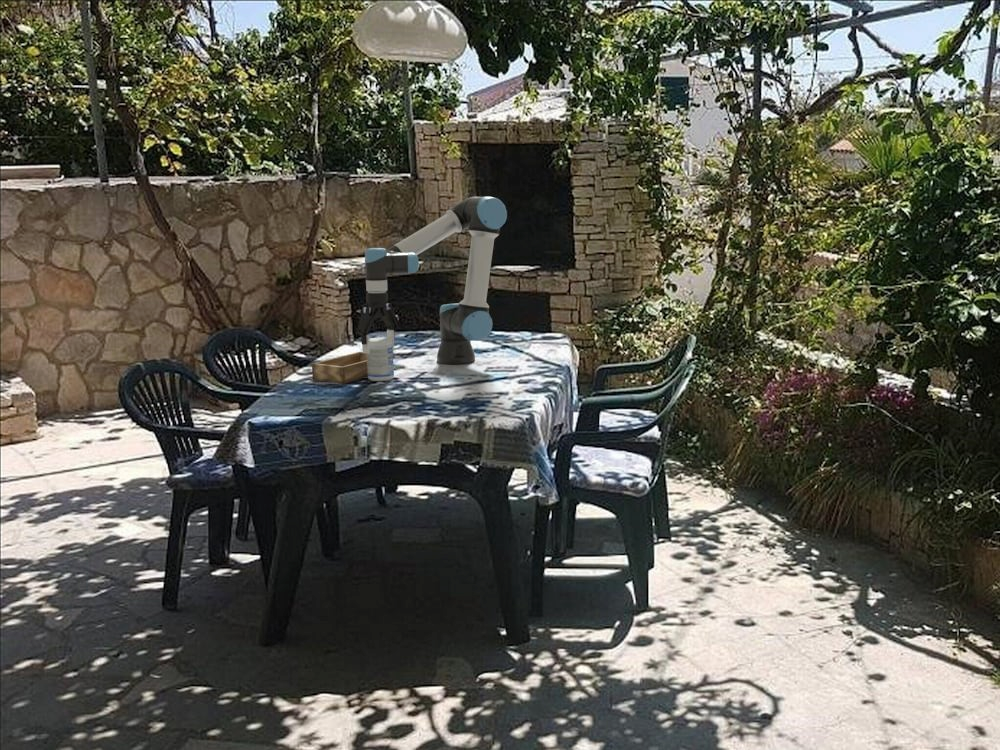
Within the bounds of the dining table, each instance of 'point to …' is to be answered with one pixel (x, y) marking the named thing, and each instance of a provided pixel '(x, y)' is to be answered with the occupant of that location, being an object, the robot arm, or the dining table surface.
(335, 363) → the walled box
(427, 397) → the dining table surface
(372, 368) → the supplement tub
